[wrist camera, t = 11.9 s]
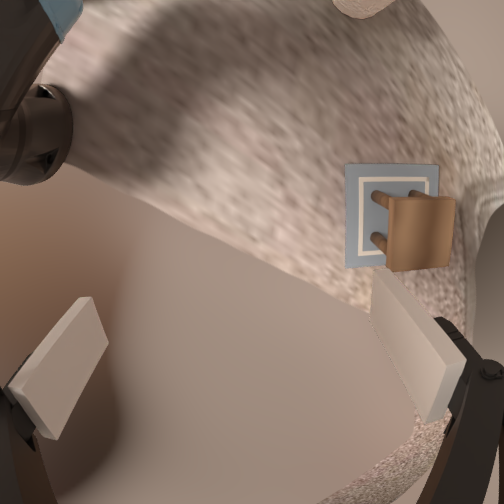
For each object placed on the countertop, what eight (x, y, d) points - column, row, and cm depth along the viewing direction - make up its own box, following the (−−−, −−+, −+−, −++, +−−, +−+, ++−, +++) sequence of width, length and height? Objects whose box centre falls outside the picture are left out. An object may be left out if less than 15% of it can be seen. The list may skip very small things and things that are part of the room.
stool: (366, 246, 41) (391, 272, 33) (368, 187, 38) (395, 200, 30) (417, 242, 41) (448, 266, 32) (420, 186, 38) (455, 199, 30)
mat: (344, 267, 42) (345, 268, 42) (344, 163, 38) (345, 164, 37) (431, 259, 42) (432, 260, 41) (437, 164, 37) (439, 165, 37)
